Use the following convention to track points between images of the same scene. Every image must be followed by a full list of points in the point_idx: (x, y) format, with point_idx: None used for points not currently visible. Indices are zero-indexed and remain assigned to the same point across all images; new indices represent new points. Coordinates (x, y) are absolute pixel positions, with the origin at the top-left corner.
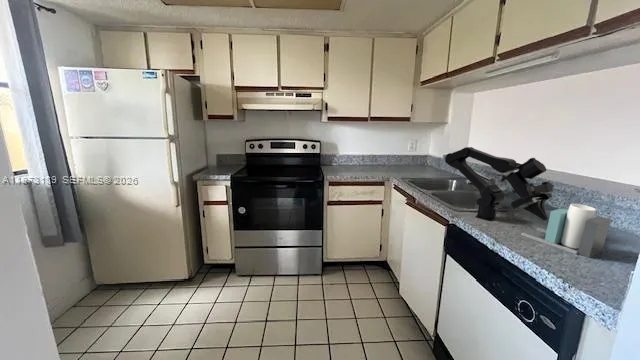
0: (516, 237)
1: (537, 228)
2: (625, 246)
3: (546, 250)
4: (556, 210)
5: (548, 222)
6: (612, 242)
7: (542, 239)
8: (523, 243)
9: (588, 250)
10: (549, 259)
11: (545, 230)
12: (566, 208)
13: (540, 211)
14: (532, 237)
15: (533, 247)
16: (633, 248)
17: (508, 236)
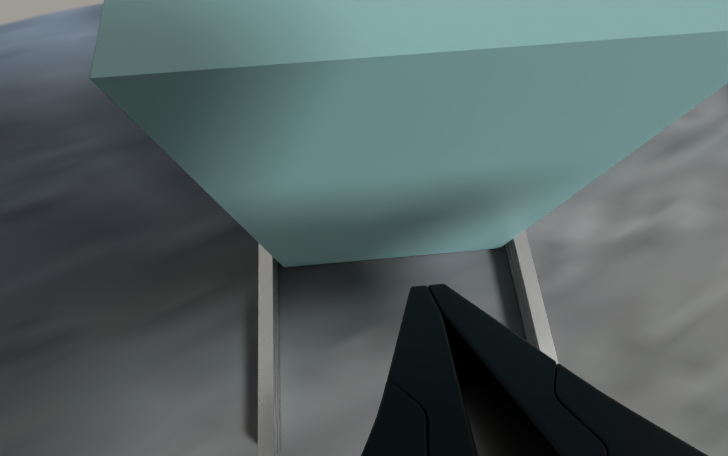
0: (659, 393)
1: (275, 448)
2: (35, 43)
3: (621, 161)
4: (596, 16)
5: (609, 168)
6: (18, 93)
7: (526, 248)
8: (698, 286)
9: None
10: (718, 91)
11: (267, 373)
12: (131, 30)
13: (563, 383)
14: (543, 321)
15: (676, 217)
16: (34, 19)
17: (723, 439)
